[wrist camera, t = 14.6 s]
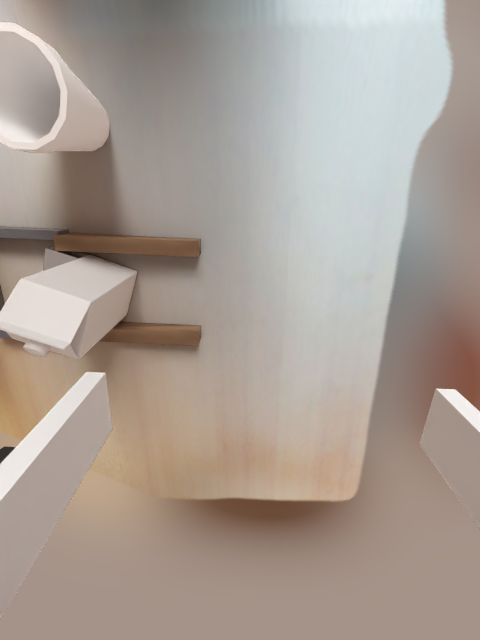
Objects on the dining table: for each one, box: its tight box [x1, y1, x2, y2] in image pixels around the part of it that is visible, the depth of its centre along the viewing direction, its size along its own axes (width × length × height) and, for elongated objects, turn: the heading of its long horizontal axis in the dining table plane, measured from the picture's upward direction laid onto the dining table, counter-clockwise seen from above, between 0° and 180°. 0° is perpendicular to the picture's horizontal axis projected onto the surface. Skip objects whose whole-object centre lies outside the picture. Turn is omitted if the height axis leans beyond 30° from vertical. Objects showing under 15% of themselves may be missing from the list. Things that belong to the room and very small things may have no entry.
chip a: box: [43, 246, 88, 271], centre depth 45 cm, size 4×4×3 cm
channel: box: [53, 233, 201, 346], centre depth 46 cm, size 15×19×3 cm
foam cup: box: [0, 22, 110, 153], centre depth 34 cm, size 10×9×13 cm
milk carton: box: [0, 255, 137, 360], centre depth 38 cm, size 7×7×19 cm
